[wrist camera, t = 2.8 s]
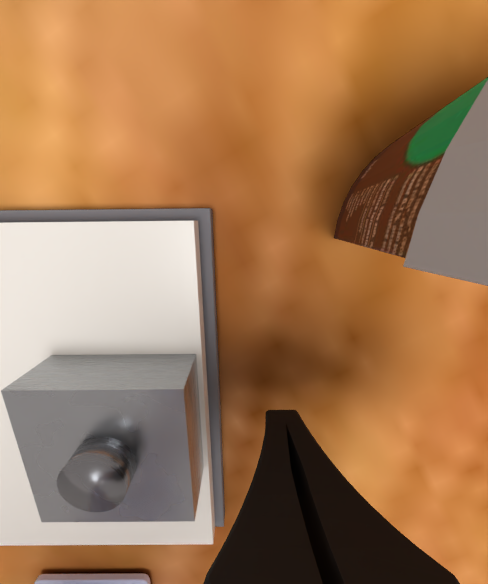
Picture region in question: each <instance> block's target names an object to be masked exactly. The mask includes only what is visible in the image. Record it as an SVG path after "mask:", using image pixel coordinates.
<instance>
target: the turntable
mask: <svg viewBox="0 0 488 584" xmlns="http://www.w3.org/2000/svg"><path fill="white" fill-rule="evenodd" d="M114 354H196V359H197V373H198V388H199V403H200V418H201V433H202V448H203V463H204V468H203V474H202V480H201V487H200V493H199V499H198V505H197V511H196V517H195V521H179V522H41V519H40V516H39V512H38V509H37V506H36V503H35V500H34V496H33V493H32V490H31V487H30V483H29V480H28V477H27V474H26V470H25V467H24V464H23V461H22V458H21V454H20V451H19V448H18V445H17V441H16V438H15V435H14V432H13V428H12V425H11V422H10V419H9V416H8V412H7V409H6V406H5V403H4V399H3V396H2V393H1V390H2V389H4V388H5V387H7V386H8V385H10V384H11V383H12V382H14V381H15V380H17V379H18V378H20V377H21V376H22V375H24V374H25V373H27V372H28V371H30V370H31V369H32V368H34V367H35V366H37V365H38V364H40V363H41V362H42V361H44V360H45V359H47V358H48V357H50V356H51V355H114ZM214 532H215V512H214V495H213V477H212V459H211V441H210V423H209V405H208V387H207V370H206V352H205V334H204V316H203V298H202V280H201V263H200V245H199V227H198V221H111V222H14V223H0V546H4V545H171V544H213V542H214Z"/></svg>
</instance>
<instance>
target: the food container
mask: <svg viewBox="0 0 488 584" xmlns="http://www.w3.org/2000/svg"><path fill="white" fill-rule="evenodd" d="M334 238H335V239H339V240H342V241H346V242H350V243H353V244H357V245H360V246H364V247H368V248H371V249H375V250H379V251H382V252H386V253H389V254H393V255H397V256H400V257H404V258H406V259H405V262H404V266H403V267H408V268H412V269H416V270H421V271H425V272H430V273H434V274H438V275H443V276H447V277H452V278H456V279H460V280H465V281H469V282H473V283H478V284H482V285H487V286H488V77H487V78H486V79H484V80H483V81H481V82H480V83H479V84H477V85H476V86H474V87H473V88H471V89H470V90H468V91H467V92H466V93H464V94H463V95H461V96H460V97H458V98H457V99H455V100H454V101H453V102H451V103H450V104H448V105H447V106H445V107H444V108H442V109H441V110H440V111H438V112H437V113H435V114H434V115H432V116H431V117H429V118H428V119H427V120H425V121H424V122H422V123H421V124H419V125H418V126H417V127H415V128H414V129H412V130H411V131H409V132H408V133H406V134H405V135H404V136H402V137H401V138H399V139H398V140H396V141H395V142H393V143H392V144H391V145H389V146H388V147H387V148H386V149H384V150H383V151H382V152H381V153H380V154H378V155H377V156H376V157H375V158H374V159H373V160H372V161H371V162H370V164H369V165H368V166H367V167H366V168H365V169H364V170H363V171H362V173H361V174H360V176H359V177H358V178H357V180H356V181H355V183H354V184H353V186H352V187H351V189H350V191H349V193H348V195H347V197H346V199H345V201H344V203H343V206H342V209H341V212H340V214H339V217H338V220H337V226H336V231H335V236H334Z"/></svg>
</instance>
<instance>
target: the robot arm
mask: <svg viewBox="0 0 488 584" xmlns="http://www.w3.org/2000/svg"><path fill="white" fill-rule="evenodd" d="M34 584H151V583H150V578H149V576H148V575H147V574H144V573H108V574H41V575H39V576H38V578H37V579H36V581H35V583H34ZM204 584H460V583H459V582H458V580H457V579H456V577H455V576H454V575H453V574H452V573H451V572H449V571H448V570H447V569H445V568H444V567H443V566H441V565H440V564H439V563H438V562H436V561H435V560H434V559H432V558H431V557H430V556H429V555H427V554H426V553H425V552H423V551H422V550H421V549H419V548H418V547H417V546H416V545H415V544H413V543H412V542H411V541H410V540H409V539H407V538H406V537H405V536H404V535H403V534H402V533H400V532H399V531H398V530H397V529H396V528H395V527H394V526H392V525H391V524H390V523H389V522H388V521H387V520H386V519H385V518H384V517H383V516H382V515H381V514H380V513H379V512H377V511H376V510H375V509H374V508H373V507H372V506H371V505H370V504H369V503H368V502H367V501H366V500H365V499H364V498H363V497H362V496H361V495H360V494H359V493H358V492H357V491H356V489H355V488H354V487H353V486H352V485H351V484H350V483H349V482H348V481H347V480H346V478H345V477H344V476H343V475H342V474H341V473H340V471H339V470H338V469H337V468H336V467H335V465H334V464H333V463H332V462H331V460H330V459H329V458H328V457H327V455H326V454H325V453H324V451H323V450H322V449H321V447H320V446H319V444H318V443H317V442H316V440H315V439H314V437H313V436H312V435H311V433H310V432H309V430H308V428H307V427H306V425H305V424H304V422H303V421H302V419H301V417H300V415H299V414H298V412H297V411H296V410H268V411H267V412H266V428H265V436H264V441H263V446H262V450H261V454H260V458H259V461H258V465H257V468H256V471H255V474H254V477H253V480H252V483H251V486H250V488H249V491H248V493H247V496H246V498H245V501H244V503H243V505H242V508H241V510H240V512H239V515H238V517H237V519H236V521H235V523H234V525H233V527H232V529H231V531H230V533H229V535H228V537H227V539H226V541H225V543H224V545H223V547H222V548H221V550H220V552H219V554H218V555H217V557H216V559H215V561H214V562H213V564H212V566H211V568H210V569H209V571H208V573H207V575H206V578H205V581H204Z"/></svg>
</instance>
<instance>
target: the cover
mask: <svg viewBox="0 0 488 584" xmlns="http://www.w3.org/2000/svg"><path fill="white" fill-rule="evenodd" d="M1 393H2V396H3V399H4V403H5V406H6V409H7V412H8V416H9V419H10V422H11V425H12V428H13V432H14V435H15V438H16V441H17V445H18V448H19V451H20V454H21V458H22V461H23V464H24V467H25V470H26V474H27V477H28V480H29V483H30V487H31V490H32V493H33V496H34V500H35V503H36V506H37V509H38V512H39V516H40V519H41V522H179V521H195V517H196V511H197V505H198V499H199V493H200V487H201V480H202V474H203V468H204V463H203V448H202V433H201V418H200V403H199V388H198V373H197V359H196V354H114V355H51V356H50V357H48V358H47V359H45V360H44V361H42V362H41V363H40V364H38V365H37V366H35V367H34V368H32V369H31V370H30V371H28V372H27V373H25V374H24V375H22V376H21V377H20V378H18V379H17V380H15V381H14V382H12V383H11V384H10V385H8V386H7V387H5V388H4V389H2V390H1Z"/></svg>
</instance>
